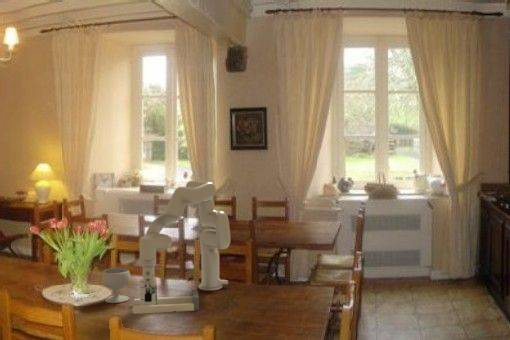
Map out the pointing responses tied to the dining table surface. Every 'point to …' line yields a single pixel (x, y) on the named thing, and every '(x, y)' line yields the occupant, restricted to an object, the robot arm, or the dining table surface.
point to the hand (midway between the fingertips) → (148, 298)
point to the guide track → (169, 304)
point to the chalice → (116, 283)
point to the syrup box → (153, 291)
